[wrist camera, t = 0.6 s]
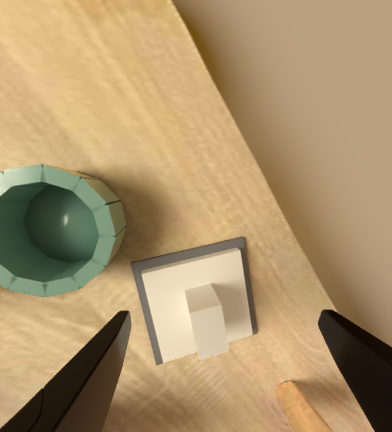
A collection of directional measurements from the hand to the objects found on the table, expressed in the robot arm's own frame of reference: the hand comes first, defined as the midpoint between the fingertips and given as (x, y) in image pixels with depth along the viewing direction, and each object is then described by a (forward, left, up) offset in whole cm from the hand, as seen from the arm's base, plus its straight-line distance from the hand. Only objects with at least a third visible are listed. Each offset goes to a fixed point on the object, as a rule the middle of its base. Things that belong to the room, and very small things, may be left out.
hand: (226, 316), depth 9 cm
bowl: (+5, +11, -13) cm, 18 cm away
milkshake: (-24, -10, -13) cm, 30 cm away
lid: (-7, 0, -13) cm, 15 cm away
